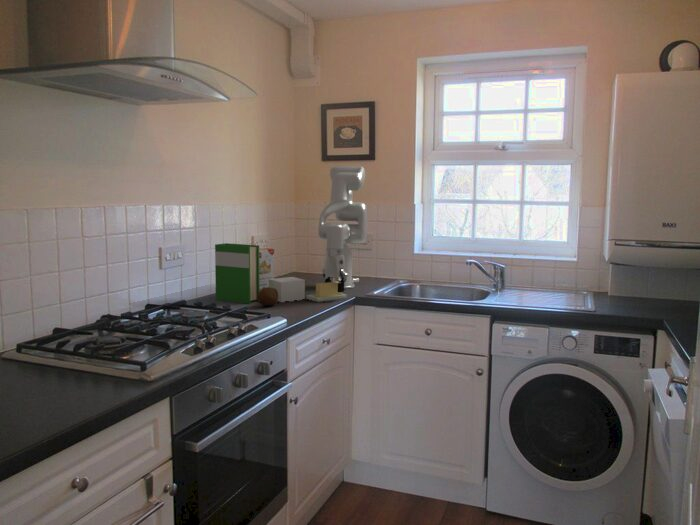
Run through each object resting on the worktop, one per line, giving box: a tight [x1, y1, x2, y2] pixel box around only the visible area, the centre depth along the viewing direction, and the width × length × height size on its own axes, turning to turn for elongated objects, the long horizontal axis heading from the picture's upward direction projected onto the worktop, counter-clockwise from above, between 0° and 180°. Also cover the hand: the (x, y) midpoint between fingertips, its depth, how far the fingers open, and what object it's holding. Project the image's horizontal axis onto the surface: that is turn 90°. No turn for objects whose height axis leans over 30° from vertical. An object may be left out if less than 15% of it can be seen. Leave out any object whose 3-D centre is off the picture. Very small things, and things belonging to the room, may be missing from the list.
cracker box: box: [259, 247, 275, 292], centre depth 260 cm, size 14×6×21 cm, turn 143°
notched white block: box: [269, 276, 307, 303], centre depth 250 cm, size 13×11×9 cm
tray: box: [306, 293, 348, 303], centre depth 252 cm, size 16×8×2 cm, turn 128°
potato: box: [257, 287, 278, 307], centre depth 233 cm, size 7×10×8 cm
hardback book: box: [214, 242, 260, 304], centre depth 245 cm, size 18×7×24 cm, turn 64°
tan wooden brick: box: [315, 281, 343, 298], centre depth 252 cm, size 12×3×6 cm, turn 128°
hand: (334, 290), depth 254 cm, fingers open, 9 cm apart
